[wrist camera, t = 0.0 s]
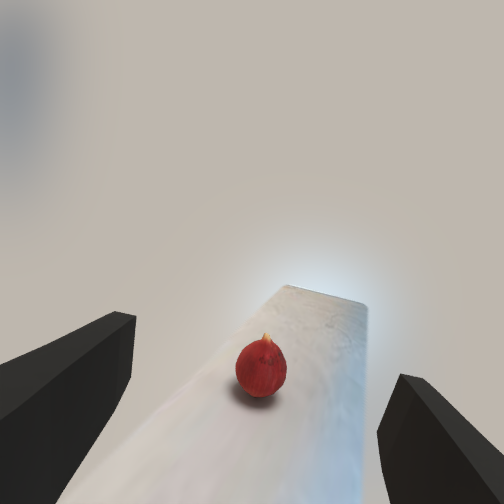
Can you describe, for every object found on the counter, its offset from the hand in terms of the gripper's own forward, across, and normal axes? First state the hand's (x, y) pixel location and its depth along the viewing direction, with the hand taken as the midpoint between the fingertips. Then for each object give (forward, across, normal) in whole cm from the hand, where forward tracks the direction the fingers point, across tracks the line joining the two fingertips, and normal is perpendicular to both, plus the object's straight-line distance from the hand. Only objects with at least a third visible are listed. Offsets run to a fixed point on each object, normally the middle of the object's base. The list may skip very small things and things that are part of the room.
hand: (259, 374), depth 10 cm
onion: (+27, -2, +24) cm, 36 cm away
